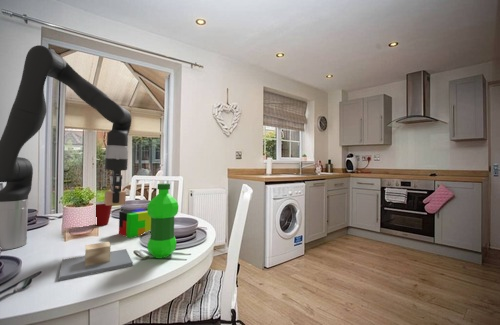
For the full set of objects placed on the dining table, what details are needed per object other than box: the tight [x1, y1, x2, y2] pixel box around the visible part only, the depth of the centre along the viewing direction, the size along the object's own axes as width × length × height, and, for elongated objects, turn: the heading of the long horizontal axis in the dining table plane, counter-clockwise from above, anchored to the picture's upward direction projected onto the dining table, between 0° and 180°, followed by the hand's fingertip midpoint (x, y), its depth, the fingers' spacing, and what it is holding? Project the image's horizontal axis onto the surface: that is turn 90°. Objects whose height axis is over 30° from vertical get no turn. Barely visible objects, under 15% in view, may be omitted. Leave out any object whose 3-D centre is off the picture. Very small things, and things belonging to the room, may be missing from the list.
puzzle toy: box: [118, 208, 151, 239], centre depth 109 cm, size 10×10×10 cm
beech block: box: [84, 241, 111, 266], centre depth 75 cm, size 6×5×5 cm
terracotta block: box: [104, 190, 127, 206], centre depth 92 cm, size 6×5×5 cm
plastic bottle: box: [146, 183, 179, 259], centre depth 83 cm, size 10×10×25 cm
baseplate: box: [58, 248, 134, 282], centre depth 75 cm, size 18×14×1 cm
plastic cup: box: [94, 200, 113, 227], centre depth 122 cm, size 11×11×12 cm
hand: (114, 201), depth 92 cm, fingers closed on terracotta block, 5 cm apart
